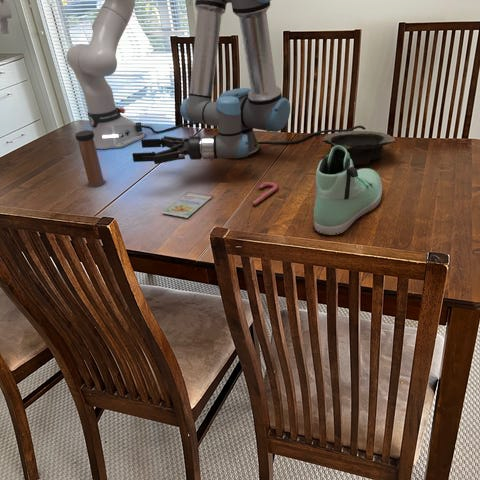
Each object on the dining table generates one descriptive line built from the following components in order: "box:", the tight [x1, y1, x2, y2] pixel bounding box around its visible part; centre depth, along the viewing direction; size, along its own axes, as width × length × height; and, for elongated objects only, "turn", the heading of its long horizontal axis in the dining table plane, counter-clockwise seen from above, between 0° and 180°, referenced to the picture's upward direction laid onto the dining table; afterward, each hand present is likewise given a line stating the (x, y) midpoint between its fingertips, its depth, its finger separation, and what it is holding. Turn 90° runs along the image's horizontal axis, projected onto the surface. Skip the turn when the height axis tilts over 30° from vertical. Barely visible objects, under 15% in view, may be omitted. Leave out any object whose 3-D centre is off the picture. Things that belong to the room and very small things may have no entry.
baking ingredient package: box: [162, 192, 212, 218], centre depth 147 cm, size 9×1×15 cm
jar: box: [77, 138, 105, 188], centre depth 163 cm, size 5×5×18 cm
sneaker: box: [313, 146, 383, 236], centre depth 133 cm, size 14×35×20 cm, turn 152°
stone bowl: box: [321, 130, 396, 167], centre depth 169 cm, size 25×25×9 cm
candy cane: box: [252, 181, 279, 206], centre depth 150 cm, size 6×15×2 cm, turn 145°
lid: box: [75, 129, 94, 142], centre depth 158 cm, size 6×6×2 cm
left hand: (0, 32), depth 160 cm, fingers open, 8 cm apart
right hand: (137, 150), depth 158 cm, fingers open, 13 cm apart
